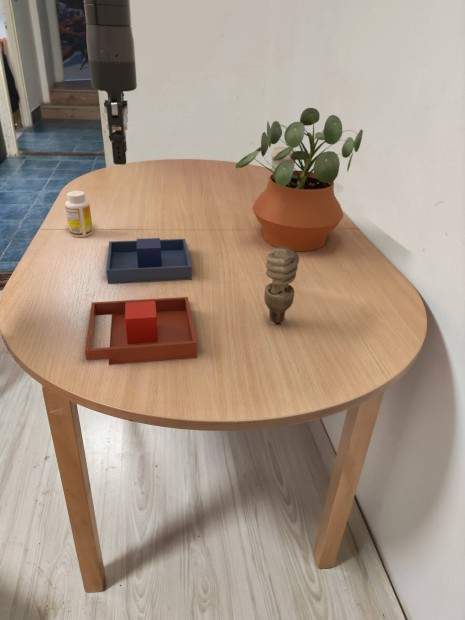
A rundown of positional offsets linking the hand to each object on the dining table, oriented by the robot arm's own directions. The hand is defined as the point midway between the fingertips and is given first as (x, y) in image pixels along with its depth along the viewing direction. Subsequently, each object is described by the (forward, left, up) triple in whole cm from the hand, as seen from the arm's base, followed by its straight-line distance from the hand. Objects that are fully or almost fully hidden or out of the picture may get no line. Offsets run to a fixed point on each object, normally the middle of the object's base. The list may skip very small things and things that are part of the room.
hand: (120, 157), depth 84 cm
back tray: (+4, +3, -24) cm, 25 cm away
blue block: (+4, +3, -24) cm, 24 cm away
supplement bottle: (-12, +22, -24) cm, 35 cm away
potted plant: (+38, +14, -24) cm, 47 cm away
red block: (+2, -23, -24) cm, 33 cm away
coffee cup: (+49, +56, -24) cm, 78 cm away
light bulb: (+26, -22, -24) cm, 42 cm away
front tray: (+2, -23, -24) cm, 33 cm away
